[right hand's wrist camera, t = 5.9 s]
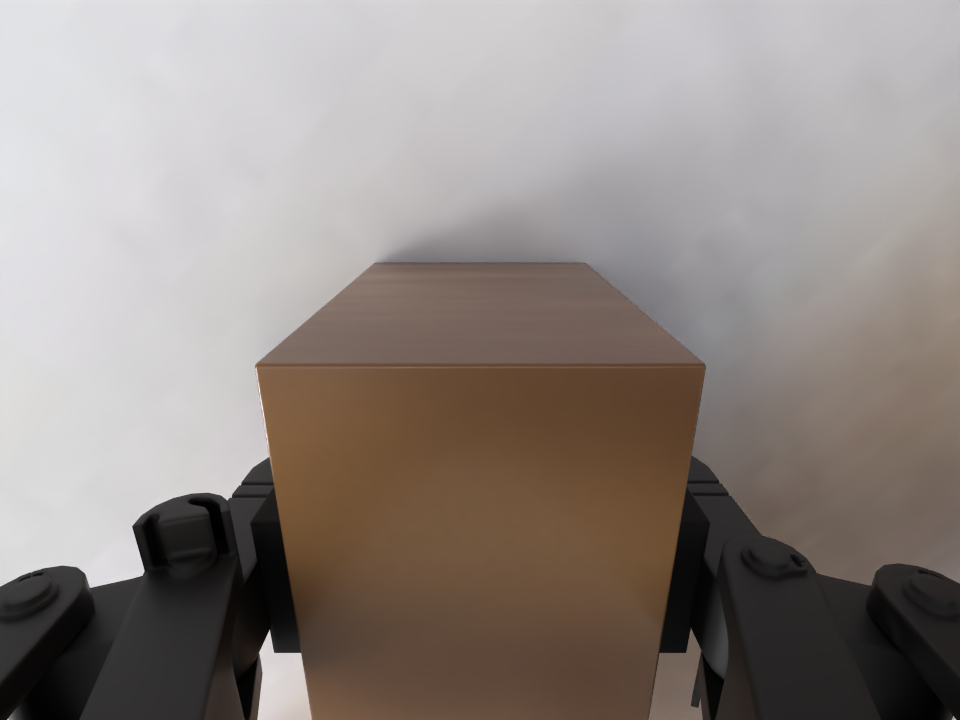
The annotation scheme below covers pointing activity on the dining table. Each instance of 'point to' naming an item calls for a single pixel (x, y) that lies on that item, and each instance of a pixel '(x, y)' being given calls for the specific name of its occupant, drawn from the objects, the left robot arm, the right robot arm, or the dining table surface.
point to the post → (480, 492)
